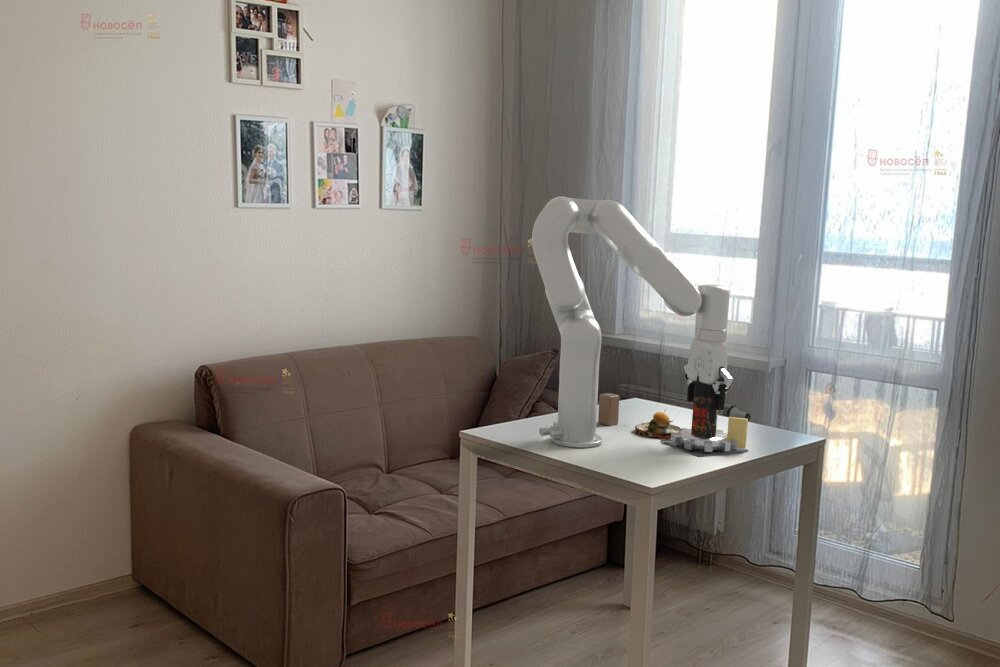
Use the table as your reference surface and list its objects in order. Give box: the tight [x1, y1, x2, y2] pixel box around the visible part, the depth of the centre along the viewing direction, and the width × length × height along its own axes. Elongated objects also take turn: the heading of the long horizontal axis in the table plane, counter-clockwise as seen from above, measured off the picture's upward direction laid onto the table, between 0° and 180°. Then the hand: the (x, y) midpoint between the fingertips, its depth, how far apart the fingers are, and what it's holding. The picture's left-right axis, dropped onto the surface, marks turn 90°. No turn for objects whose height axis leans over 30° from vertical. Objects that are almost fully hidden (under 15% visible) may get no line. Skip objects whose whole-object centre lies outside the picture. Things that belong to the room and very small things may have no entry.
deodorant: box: [690, 375, 720, 438], centre depth 225 cm, size 6×6×15 cm
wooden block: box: [597, 392, 620, 427], centre depth 246 cm, size 4×4×8 cm
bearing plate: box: [660, 438, 749, 458], centre depth 226 cm, size 16×15×1 cm
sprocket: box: [671, 416, 749, 452], centre depth 225 cm, size 18×16×7 cm
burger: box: [634, 410, 681, 440], centre depth 238 cm, size 12×12×8 cm
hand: (705, 405), depth 225 cm, fingers open, 9 cm apart
